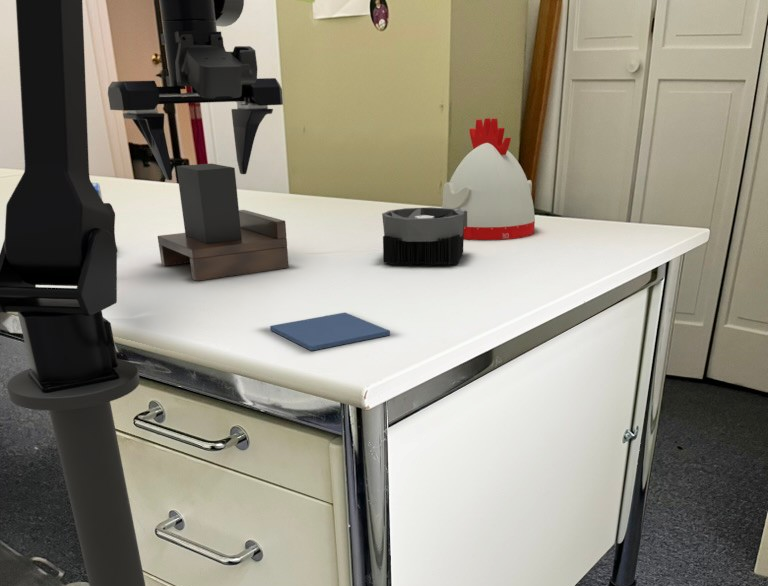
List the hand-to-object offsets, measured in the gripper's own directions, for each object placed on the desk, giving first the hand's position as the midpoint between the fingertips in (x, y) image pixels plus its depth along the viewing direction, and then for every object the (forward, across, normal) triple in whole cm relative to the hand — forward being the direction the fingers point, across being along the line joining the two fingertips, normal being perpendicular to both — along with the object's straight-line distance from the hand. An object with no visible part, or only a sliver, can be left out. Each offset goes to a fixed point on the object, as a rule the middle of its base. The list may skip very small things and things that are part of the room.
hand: (207, 176), depth 95 cm
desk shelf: (+10, +1, 0) cm, 10 cm away
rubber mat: (+10, -3, -34) cm, 36 cm away
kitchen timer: (+11, +42, -1) cm, 43 cm away
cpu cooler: (+11, +23, -12) cm, 28 cm away
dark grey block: (+7, 0, 0) cm, 7 cm away
